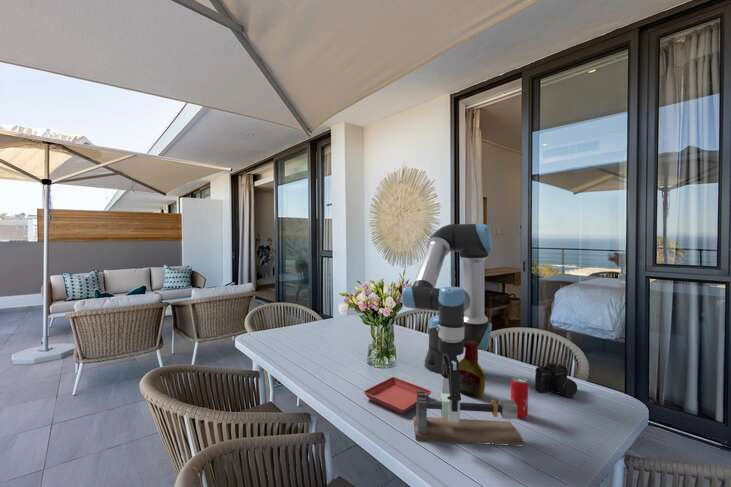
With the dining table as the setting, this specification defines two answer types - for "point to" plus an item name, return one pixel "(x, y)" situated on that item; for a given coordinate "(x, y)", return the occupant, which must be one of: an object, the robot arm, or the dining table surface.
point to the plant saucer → (395, 394)
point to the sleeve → (446, 406)
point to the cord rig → (467, 423)
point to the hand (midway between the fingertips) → (449, 409)
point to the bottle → (471, 372)
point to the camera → (554, 380)
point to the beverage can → (520, 395)
